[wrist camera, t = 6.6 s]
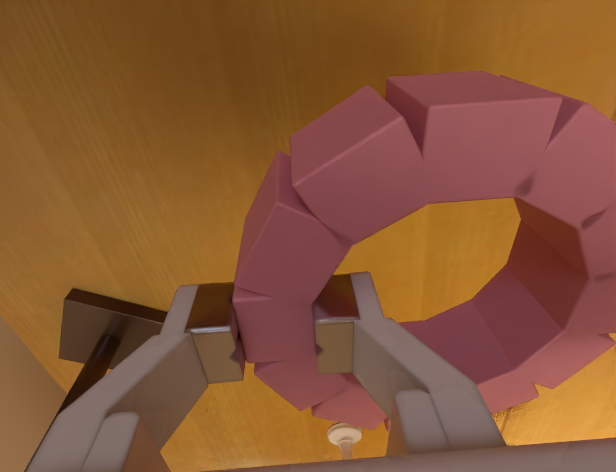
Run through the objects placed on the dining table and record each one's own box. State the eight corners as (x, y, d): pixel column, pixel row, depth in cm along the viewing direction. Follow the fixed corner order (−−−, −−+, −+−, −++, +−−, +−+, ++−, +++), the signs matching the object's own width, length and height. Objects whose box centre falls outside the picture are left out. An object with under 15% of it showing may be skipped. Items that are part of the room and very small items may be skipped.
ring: (267, 365, 13) (264, 442, 11) (217, 88, 8) (189, 123, 6) (524, 344, 13) (575, 415, 11) (646, 59, 8) (795, 80, 6)
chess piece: (359, 440, 51) (372, 524, 43) (325, 441, 51) (332, 526, 43) (363, 421, 49) (379, 508, 40) (328, 422, 48) (336, 509, 40)
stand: (66, 346, 38) (-29, 492, 27) (72, 288, 33) (-38, 432, 22) (152, 365, 40) (98, 506, 29) (168, 312, 36) (113, 455, 24)
